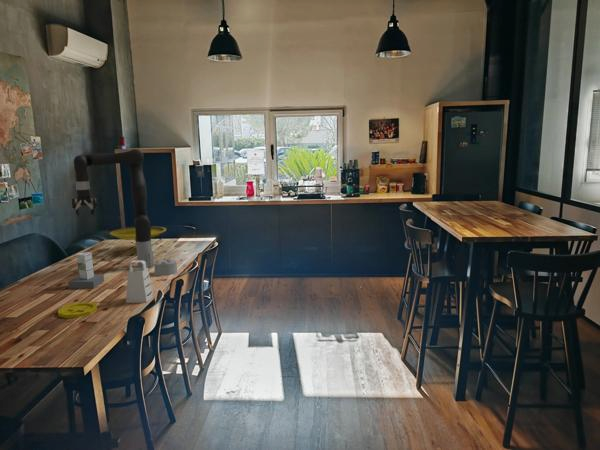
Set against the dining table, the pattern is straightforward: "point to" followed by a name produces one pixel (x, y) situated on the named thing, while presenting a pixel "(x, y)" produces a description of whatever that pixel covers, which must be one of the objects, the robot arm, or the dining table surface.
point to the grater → (138, 284)
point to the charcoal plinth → (86, 282)
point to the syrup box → (85, 265)
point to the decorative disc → (77, 310)
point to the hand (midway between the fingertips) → (85, 215)
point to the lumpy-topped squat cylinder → (165, 267)
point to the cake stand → (132, 235)
